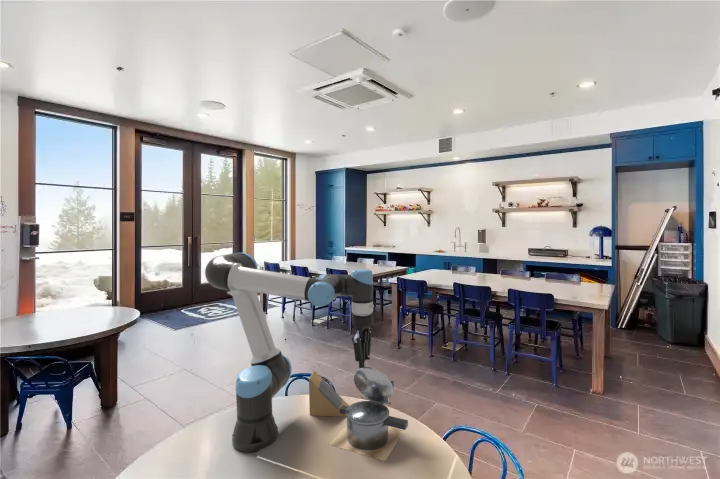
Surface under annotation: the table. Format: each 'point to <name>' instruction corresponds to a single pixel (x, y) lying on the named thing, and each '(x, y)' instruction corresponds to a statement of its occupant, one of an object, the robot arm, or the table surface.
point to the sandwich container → (323, 398)
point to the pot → (369, 424)
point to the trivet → (376, 453)
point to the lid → (373, 385)
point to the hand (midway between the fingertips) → (363, 378)
